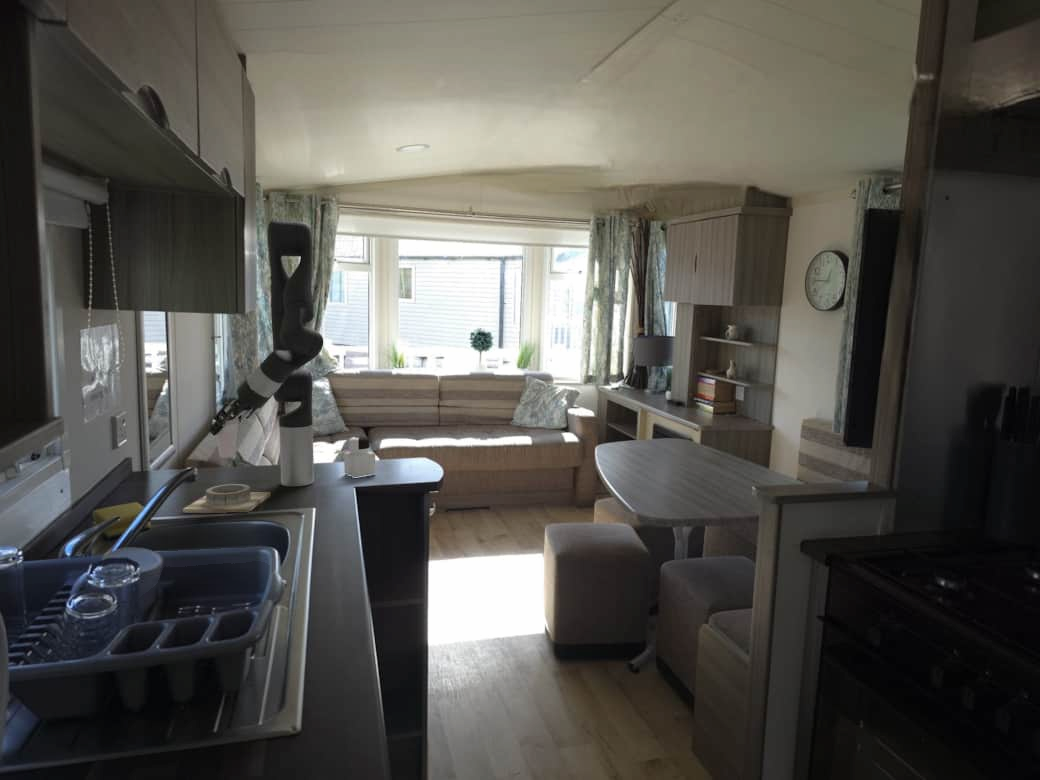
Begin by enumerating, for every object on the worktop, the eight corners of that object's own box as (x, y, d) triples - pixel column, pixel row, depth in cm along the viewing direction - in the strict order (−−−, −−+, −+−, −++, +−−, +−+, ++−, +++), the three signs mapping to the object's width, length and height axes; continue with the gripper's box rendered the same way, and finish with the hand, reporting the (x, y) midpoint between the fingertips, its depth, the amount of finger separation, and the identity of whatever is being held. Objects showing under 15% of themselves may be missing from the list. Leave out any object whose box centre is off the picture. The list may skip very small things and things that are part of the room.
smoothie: (230, 459, 169) (228, 404, 168) (208, 458, 170) (205, 403, 169) (245, 454, 175) (243, 401, 174) (224, 453, 177) (221, 401, 175)
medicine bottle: (365, 471, 212) (364, 434, 210) (375, 475, 206) (375, 437, 205) (344, 474, 207) (343, 436, 206) (354, 479, 202) (353, 440, 200)
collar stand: (211, 495, 182) (210, 481, 182) (270, 495, 182) (270, 481, 182) (183, 512, 166) (182, 497, 166) (247, 512, 167) (247, 497, 166)
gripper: (265, 373, 177) (226, 416, 180) (234, 377, 162) (192, 424, 166) (285, 393, 176) (245, 436, 179) (255, 399, 162) (213, 446, 165)
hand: (220, 430), depth 172 cm, fingers closed on smoothie, 6 cm apart
